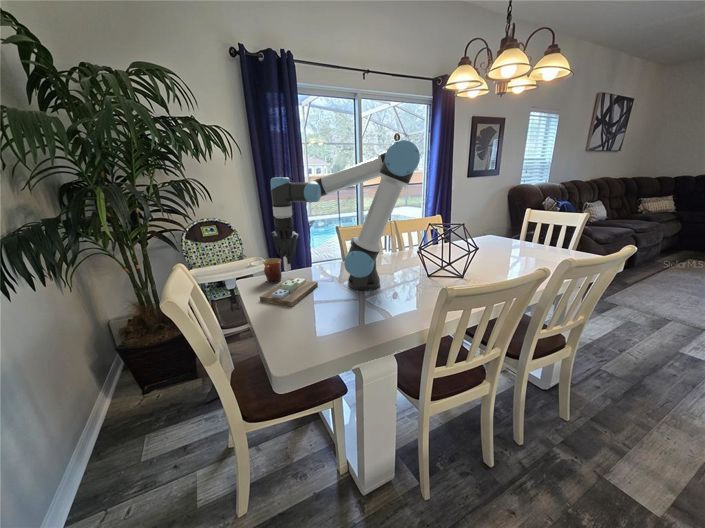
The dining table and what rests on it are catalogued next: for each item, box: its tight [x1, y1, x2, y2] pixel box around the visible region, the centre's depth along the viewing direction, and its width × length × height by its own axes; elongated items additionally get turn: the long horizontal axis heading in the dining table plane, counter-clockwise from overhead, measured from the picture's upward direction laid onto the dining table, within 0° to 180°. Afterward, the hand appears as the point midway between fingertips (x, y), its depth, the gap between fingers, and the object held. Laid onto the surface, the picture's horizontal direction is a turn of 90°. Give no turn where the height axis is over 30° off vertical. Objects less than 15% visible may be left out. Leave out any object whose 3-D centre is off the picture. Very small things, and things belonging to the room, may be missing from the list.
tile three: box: [272, 289, 289, 299], centre depth 122 cm, size 5×5×4 cm
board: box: [259, 278, 319, 307], centre depth 128 cm, size 16×22×2 cm
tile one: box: [293, 277, 307, 286], centre depth 134 cm, size 5×5×4 cm
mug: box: [262, 257, 282, 283], centre depth 140 cm, size 12×9×10 cm
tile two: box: [282, 279, 298, 292], centre depth 128 cm, size 5×5×4 cm
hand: (287, 270), depth 125 cm, fingers closed
